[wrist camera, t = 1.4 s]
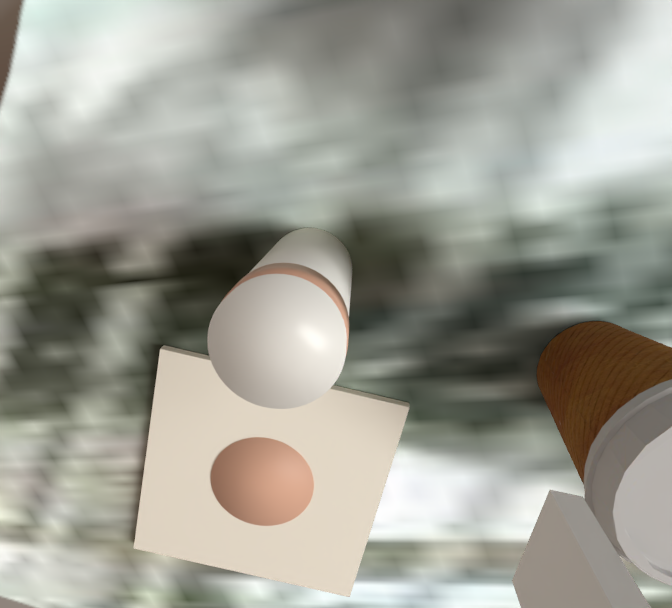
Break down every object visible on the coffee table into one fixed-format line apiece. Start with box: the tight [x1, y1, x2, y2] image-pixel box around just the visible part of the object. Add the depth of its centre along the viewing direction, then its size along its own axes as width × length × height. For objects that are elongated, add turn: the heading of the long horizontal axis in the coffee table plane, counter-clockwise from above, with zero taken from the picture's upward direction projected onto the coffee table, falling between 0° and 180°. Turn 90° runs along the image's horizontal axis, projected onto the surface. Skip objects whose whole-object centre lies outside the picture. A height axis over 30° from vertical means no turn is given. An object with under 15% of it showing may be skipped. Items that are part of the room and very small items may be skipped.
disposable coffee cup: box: [537, 321, 672, 585], centre depth 24 cm, size 10×10×12 cm
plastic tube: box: [207, 228, 352, 409], centre depth 23 cm, size 5×5×12 cm
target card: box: [134, 345, 410, 597], centre depth 33 cm, size 16×16×1 cm
